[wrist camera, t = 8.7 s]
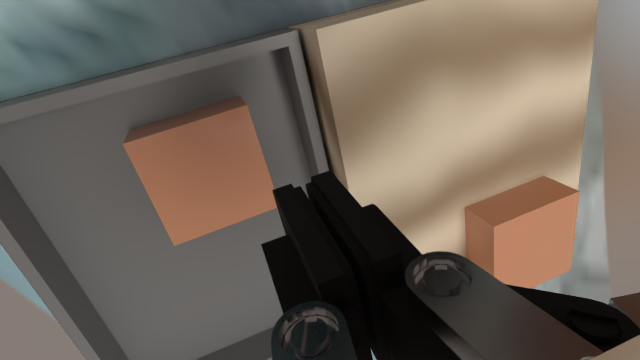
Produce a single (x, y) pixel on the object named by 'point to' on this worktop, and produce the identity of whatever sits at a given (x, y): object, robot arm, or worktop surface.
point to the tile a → (202, 169)
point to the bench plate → (449, 103)
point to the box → (139, 212)
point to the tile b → (524, 232)
